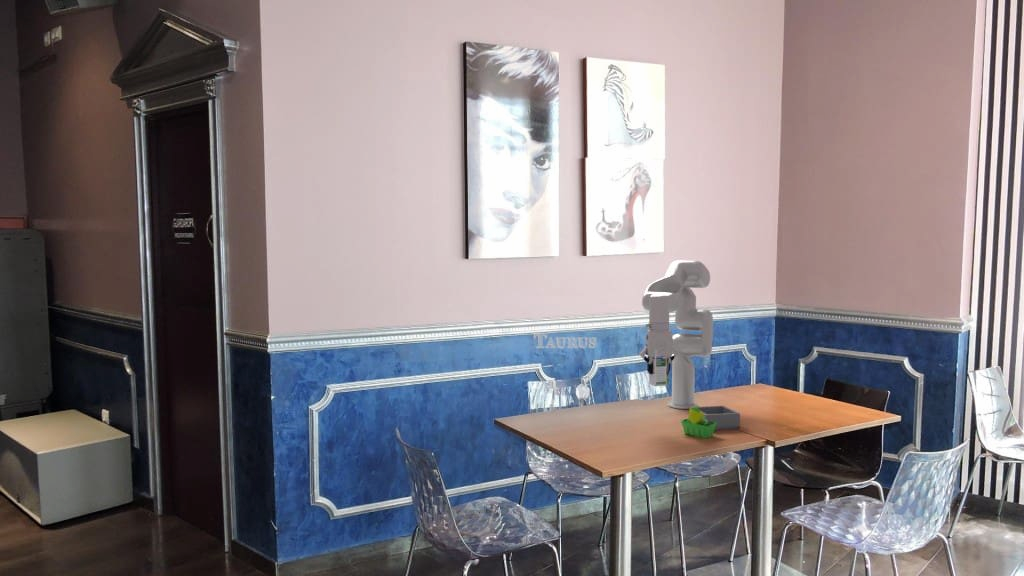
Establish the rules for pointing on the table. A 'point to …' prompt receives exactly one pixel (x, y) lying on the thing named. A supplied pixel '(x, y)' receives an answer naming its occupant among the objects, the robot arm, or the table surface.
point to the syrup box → (660, 371)
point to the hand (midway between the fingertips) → (658, 372)
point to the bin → (721, 417)
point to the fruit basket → (698, 424)
